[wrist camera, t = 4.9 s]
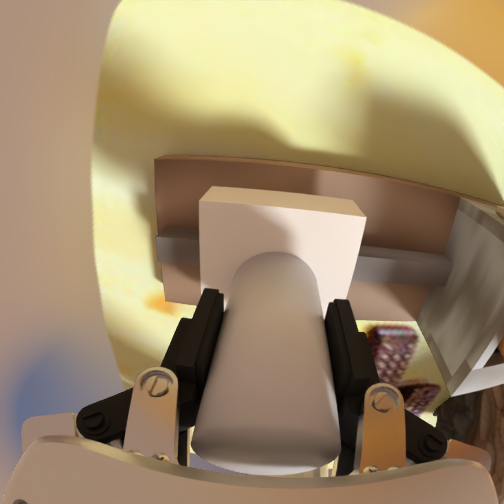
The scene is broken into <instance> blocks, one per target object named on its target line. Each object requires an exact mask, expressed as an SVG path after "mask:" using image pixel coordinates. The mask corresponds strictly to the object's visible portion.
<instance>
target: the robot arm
mask: <svg viewBox="0 0 504 504" xmlns="http://www.w3.org/2000/svg"><path fill="white" fill-rule="evenodd" d="M223 315H224V294H223V293H219V289H212V288H204V290H203V292H202V295H201V297H200V300H199V303H198V305H197V308H196V310H195V313H194V315H193V318H192V319H189V318H181V320H180V322H179V324H178V326H177V329H176V331H175V333H174V335H173V338H172V340H171V342H170V345H169V347H168V350H167V352H166V354H165V357H164V359H163V361H162V364H161V366H160V367H151V368H148V369H145V370H144V371H142V372H141V373H140V374H139V375H138V376H137V378H136V380H135V384H134V387H133V388H131V389H129V390H126V391H124V392H121V393H119V394H116V395H114V396H111V397H109V398H106V399H104V400H101V401H98V402H96V403H93V404H91V405H88V406H86V407H84V408H83V409H82V410H81V411H80V412H79V413H78V414H73V412H68V413H62V414H54V415H46V416H37V417H31V418H28V419H27V420H26V421H25V422H24V424H23V425H22V431H21V433H22V451H23V455H22V457H21V458H20V460H19V462H18V464H17V465H16V467H15V469H14V472H13V474H12V476H11V478H10V480H9V482H8V485H7V487H6V490H5V493H4V496H3V499H2V502H1V504H499V503H498V498H497V493H496V490H495V486H494V483H493V481H492V478H491V476H490V474H489V472H490V468H491V457H490V455H489V453H488V452H487V451H485V450H484V449H481V448H477V447H474V446H471V445H468V444H465V443H462V442H459V441H456V440H453V439H450V440H449V441H448V440H447V439H446V437H445V435H444V434H443V433H442V432H441V431H440V430H438V429H437V428H435V427H433V426H432V425H430V424H428V423H427V422H425V421H424V420H422V419H420V418H419V417H417V416H416V415H414V414H413V413H411V412H409V411H408V410H406V409H405V408H404V400H403V396H402V394H401V393H400V391H399V390H398V389H397V388H396V387H394V386H392V385H390V384H386V383H380V381H379V377H378V373H377V370H376V366H375V362H374V359H373V356H372V352H371V349H370V345H369V342H368V339H367V336H366V334H365V333H364V332H358V328H357V325H356V321H355V318H354V315H353V311H352V308H351V305H350V302H349V300H348V299H334V301H333V302H329V304H328V307H327V311H326V315H325V319H324V322H325V328H326V334H327V341H328V347H329V353H330V360H331V367H332V374H333V381H334V388H335V396H336V404H337V413H338V422H339V431H340V441H341V452H340V454H339V455H338V457H337V458H336V459H335V460H334V465H333V471H332V476H331V477H328V464H326V465H324V466H322V467H320V468H317V469H314V470H310V471H306V472H302V473H296V474H288V475H255V474H247V473H245V475H237V474H229V473H220V472H213V471H208V470H202V469H196V468H191V467H189V465H190V463H189V462H190V460H189V454H190V428H191V427H193V426H195V424H196V420H197V416H198V412H199V408H200V404H201V400H202V396H203V392H204V388H205V384H206V380H207V376H208V372H209V369H210V365H211V361H212V357H213V353H214V349H215V345H216V342H217V338H218V334H219V330H220V326H221V322H222V319H223Z"/></svg>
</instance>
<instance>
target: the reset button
mask: <svg viewBox="0 0 504 504" xmlns="http://www.w3.org/2000/svg"><path fill="white" fill-rule="evenodd" d="M497 347H498V349H499V350H500V352H501V354H502V355H503V357H504V336H503V338H502V340H501V341H500V343H499V344H498V346H497Z"/></svg>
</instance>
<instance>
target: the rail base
mask: <svg viewBox="0 0 504 504" xmlns="http://www.w3.org/2000/svg"><path fill="white" fill-rule="evenodd" d="M154 163H155V193H156V211H157V225H158V235H157V236H156V245H157V255H158V261H160V262H161V268H162V277H163V285H164V293H165V300H166V301H168V302H174V303H181V304H188V305H196V306H197V305H198V303H199V300H200V297H201V277H200V244H199V200H200V199H201V198H202V197H203V196H204V195H205V193H206V192H207V191H208V190H209V189H210V188H211V187H212V186H218V187H234V188H247V189H259V190H271V191H281V192H291V193H300V194H309V195H318V196H326V197H334V198H341V199H349V200H353V201H354V202H355V204H356V205H357V206H358V207H359V208H360V210H361V211H362V212H363V213H364V215H365V216H366V217H367V218H366V223H365V227H364V232H363V236H362V240H361V245H360V249H359V253H358V257H357V261H356V265H355V269H354V272H353V276H352V280H351V283H350V287H349V290H348V294H347V297H346V299H348V300H349V302H350V305H351V308H352V311H353V315H354V318H355V320H376V321H416V322H417V324H418V326H419V328H420V330H421V332H422V334H423V336H424V338H425V340H426V342H427V344H428V346H429V348H430V350H431V352H432V354H433V357H434V359H435V361H436V363H437V365H438V368H439V370H440V372H441V374H442V377H443V379H444V381H445V384H446V386H447V389H448V391H449V394H450V396H451V397H452V396H457V395H462V394H466V393H470V392H475V391H479V390H482V389H486V388H490V387H494V386H497V385H500V384H504V357H503V355H502V354H501V352H500V350H499V349H498V347H497V346H498V344H499V343H500V341H501V340H502V338H503V336H504V207H503V206H500V205H497V204H494V203H491V202H488V201H484V200H481V199H478V198H474V197H471V196H468V195H464V194H460V193H457V192H453V191H449V190H445V189H442V188H438V187H433V186H429V185H425V184H421V183H416V182H412V181H407V180H403V179H398V178H393V177H388V176H383V175H377V174H372V173H366V172H360V171H354V170H348V169H341V168H334V167H327V166H320V165H312V164H304V163H295V162H285V161H275V160H263V159H250V158H235V157H214V156H162V157H159V158H157V159H154Z"/></svg>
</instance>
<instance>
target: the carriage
mask: <svg viewBox="0 0 504 504" xmlns="http://www.w3.org/2000/svg"><path fill="white" fill-rule="evenodd" d="M366 218H367V217H366V216H365V215H364V213H363V212H362V211H361V210H360V208H359V207H358V206H357V205H356V204H355V202H354V201H353V200H349V199H341V198H334V197H326V196H318V195H309V194H300V193H291V192H281V191H271V190H259V189H247V188H234V187H218V186H212V187H211V188H210V189H209V190H208V191H207V192H206V193H205V195H204V196H203V197H202V198H201V199H200V200H199V244H200V277H201V295H202V292H203V290H204V288H212V289H219V293H223V294H224V315H223V319H222V322H221V326H220V330H219V334H218V338H217V342H216V345H215V349H214V353H213V357H212V361H211V365H210V369H209V372H208V376H207V380H206V384H205V388H204V392H203V396H202V400H201V404H200V408H199V412H198V416H197V420H196V424H195V428H194V432H193V436H192V440H191V447H192V449H193V451H194V452H195V453H196V454H197V455H198V456H200V457H201V458H202V459H204V460H206V461H208V462H210V463H212V464H214V465H216V466H219V467H222V468H225V469H228V470H232V471H236V472H241V473H247V474H255V475H288V474H296V473H302V472H306V471H310V470H314V469H317V468H320V467H322V466H324V465H326V464H328V463H330V462H332V461H333V460H335V459H336V458H337V457H338V455H339V454H340V452H341V441H340V431H339V422H338V413H337V404H336V396H335V388H334V381H333V374H332V367H331V360H330V353H329V347H328V341H327V334H326V328H325V322H324V319H325V315H326V311H327V307H328V304H329V302H333V301H334V299H346V297H347V294H348V290H349V287H350V283H351V280H352V276H353V272H354V269H355V265H356V261H357V257H358V253H359V249H360V245H361V240H362V236H363V232H364V227H365V223H366Z"/></svg>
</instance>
